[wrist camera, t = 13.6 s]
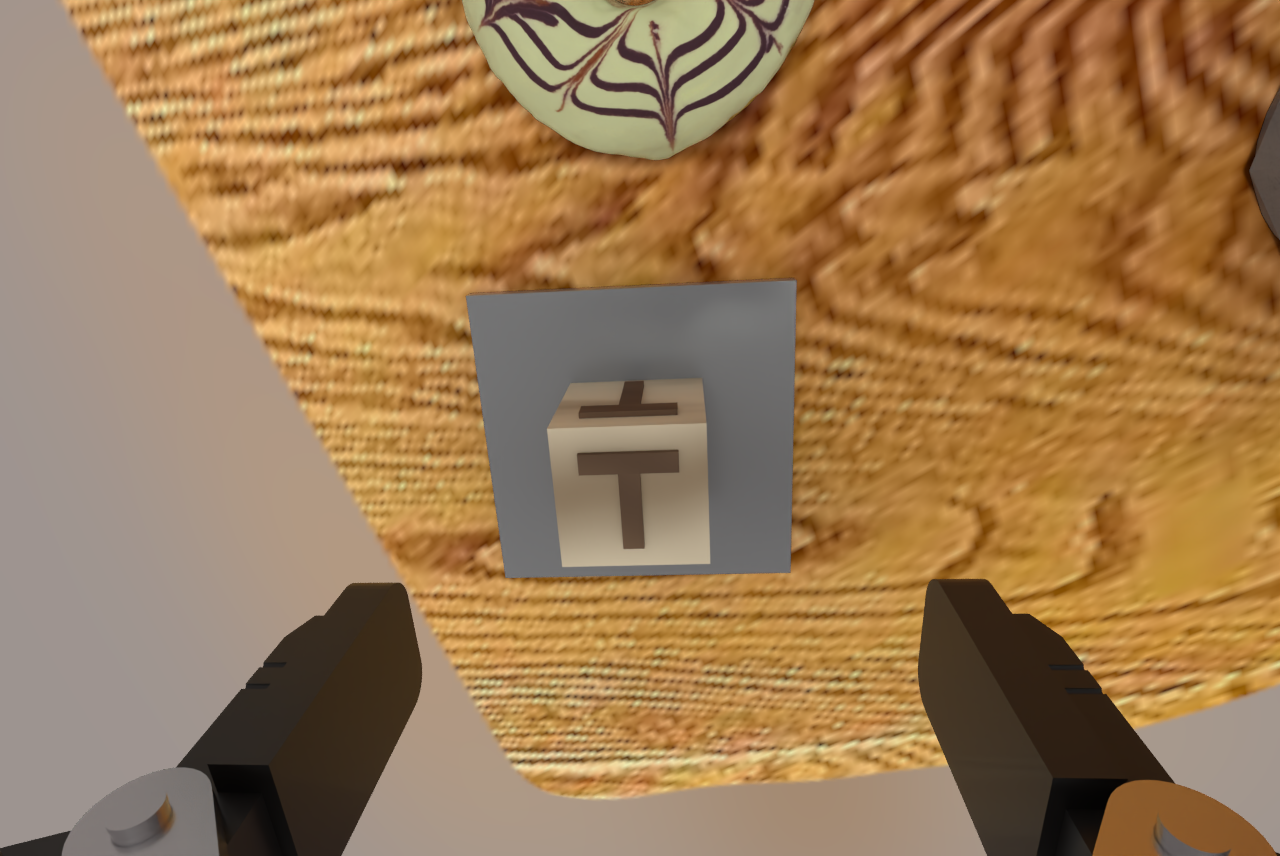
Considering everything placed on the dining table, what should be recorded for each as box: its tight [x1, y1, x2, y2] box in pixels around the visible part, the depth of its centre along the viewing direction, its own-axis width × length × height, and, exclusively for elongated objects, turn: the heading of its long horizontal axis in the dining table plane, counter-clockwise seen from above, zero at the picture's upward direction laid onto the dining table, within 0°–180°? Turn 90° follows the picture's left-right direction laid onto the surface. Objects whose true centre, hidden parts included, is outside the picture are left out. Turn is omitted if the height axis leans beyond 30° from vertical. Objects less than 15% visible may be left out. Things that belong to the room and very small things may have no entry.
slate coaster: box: [466, 278, 797, 578], centre depth 28 cm, size 12×12×1 cm
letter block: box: [547, 378, 710, 567], centre depth 25 cm, size 5×5×5 cm
